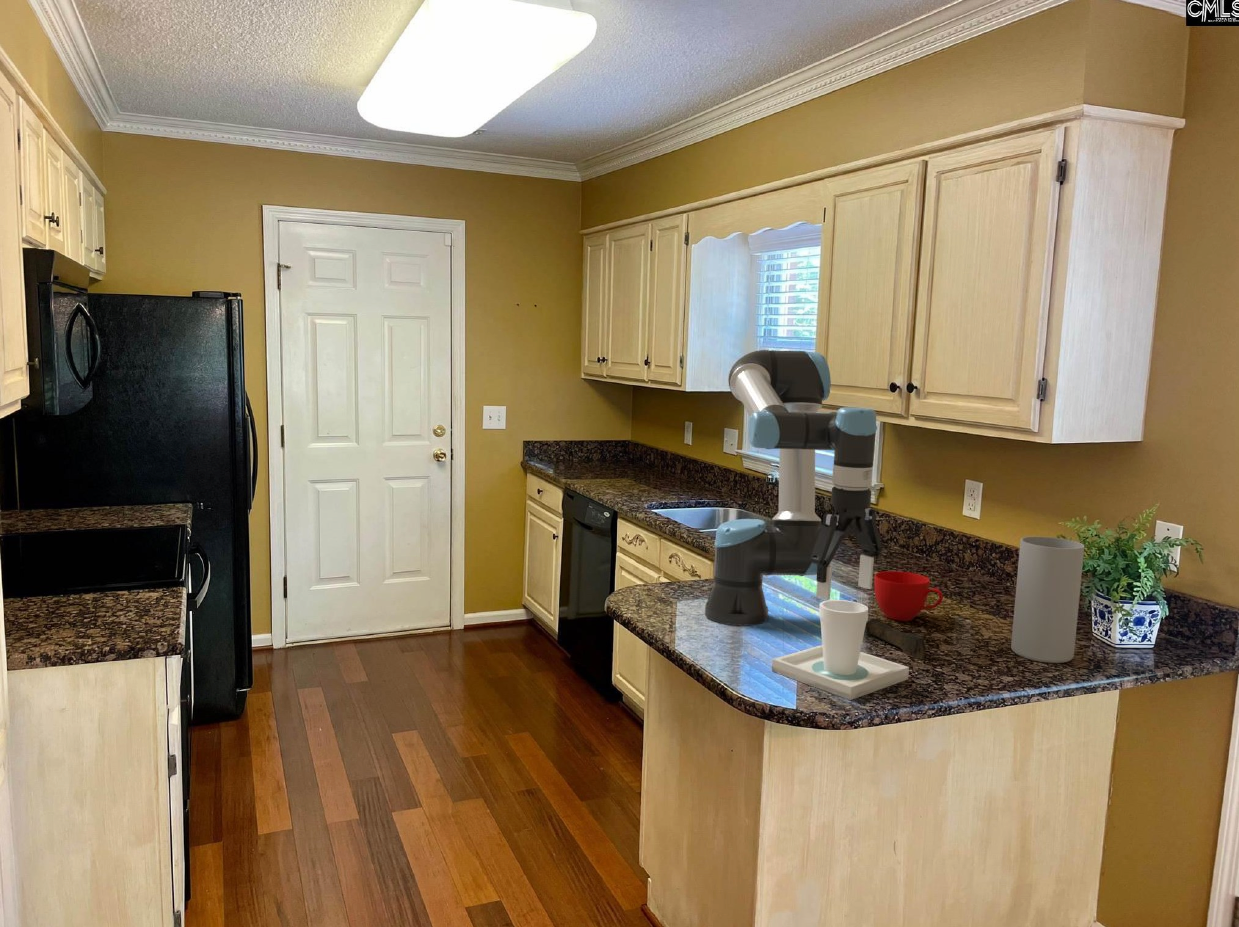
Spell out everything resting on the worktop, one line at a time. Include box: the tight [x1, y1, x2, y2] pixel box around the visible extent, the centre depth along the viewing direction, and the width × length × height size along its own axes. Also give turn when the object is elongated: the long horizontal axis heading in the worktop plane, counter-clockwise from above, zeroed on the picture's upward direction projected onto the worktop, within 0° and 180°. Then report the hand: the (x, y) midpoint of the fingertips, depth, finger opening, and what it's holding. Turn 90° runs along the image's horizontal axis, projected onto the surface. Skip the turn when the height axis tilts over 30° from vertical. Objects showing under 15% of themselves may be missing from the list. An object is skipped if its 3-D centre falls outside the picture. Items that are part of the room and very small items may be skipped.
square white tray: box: [771, 644, 910, 701], centre depth 187 cm, size 19×19×2 cm
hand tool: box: [865, 618, 927, 660], centre depth 207 cm, size 19×4×5 cm, turn 17°
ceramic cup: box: [873, 570, 944, 622], centre depth 228 cm, size 13×17×10 cm
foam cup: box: [818, 599, 869, 675], centre depth 186 cm, size 10×9×13 cm
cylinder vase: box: [1010, 536, 1085, 664], centre depth 203 cm, size 12×12×25 cm
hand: (844, 592), depth 185 cm, fingers open, 13 cm apart
